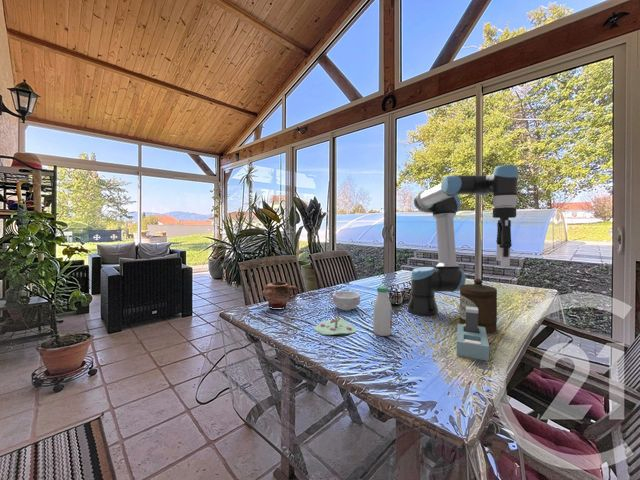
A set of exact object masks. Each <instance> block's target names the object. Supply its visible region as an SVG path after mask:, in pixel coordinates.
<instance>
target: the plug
mask: <svg viewBox="0 0 640 480" xmlns="http://www.w3.org/2000/svg"><path fill="white" fill-rule="evenodd" d="M477 331H478V307H469V306H466V332H472V333H477Z"/></svg>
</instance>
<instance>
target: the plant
mask: <svg viewBox="0 0 640 480" xmlns="http://www.w3.org/2000/svg"><path fill="white" fill-rule="evenodd" d="M338 312H339V309H338V310H337V309H336V312H334V315H333V317H335V319H332V320H330V321H329V320H328V321H324V320H323V321H324V322H322V321H321V322H322V323H320V322H319V323H320V324H319V325H317V324H316V325H317V326H316V327H314V326H313V328H312V329H313V330H315V331H316V333H317V334H320V335H324V336H331V335H332V336H334V335H349V334H350V335H351V334H355V333H356V332H357V331H356V328H354V327H353V326H352V325H351V324H349V323H348V322H346V321H345V320H343V319H344V318H343V319H341V318H342V317H343V316H342V315H340V314H339V313H338ZM340 316H341V318H339V319H338V317H340ZM336 317H337V318H336ZM315 331H314V332H315ZM354 332H355V333H354Z"/></svg>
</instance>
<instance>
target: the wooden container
mask: <svg viewBox="0 0 640 480" xmlns="http://www.w3.org/2000/svg"><path fill="white" fill-rule="evenodd" d="M497 296H498V289H497V288H496V287H494V286H491V285H485V284H483V279H480V278H475V279H474V280H473V283H472V284H471V283H468V284H466V283H465V285H461V286H460V291H459V311H458V312H459V313H458V314H459V321H458V324H466V306H469V307H478V326H480V327H485V330H486V334H491V333H495V332H496V331H497V328H498V326H497V323H498V321H497V319H498V298H497Z"/></svg>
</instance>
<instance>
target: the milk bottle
mask: <svg viewBox="0 0 640 480" xmlns="http://www.w3.org/2000/svg"><path fill="white" fill-rule="evenodd" d="M376 291H377V292H376V293H377V296H376V298H375V300H374V303H373V313H372V314H373V315H372V319H373V321H372V323H373V325H372V326H373V328H372V331H373V333H374V335H376V336H381V337H388V336H391V335H392V333H393V332H392V330H393V329H392V328H393V327H392V326H393V324H392V323H393V318H392V317H393V314H392V313H393V312H392V311H393V310H392V309H393V308H392V303H391V300H390V298H389V295H388V294H389V288H388V287H387V286H384V285H383V286H378V287H377V288H376Z"/></svg>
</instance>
